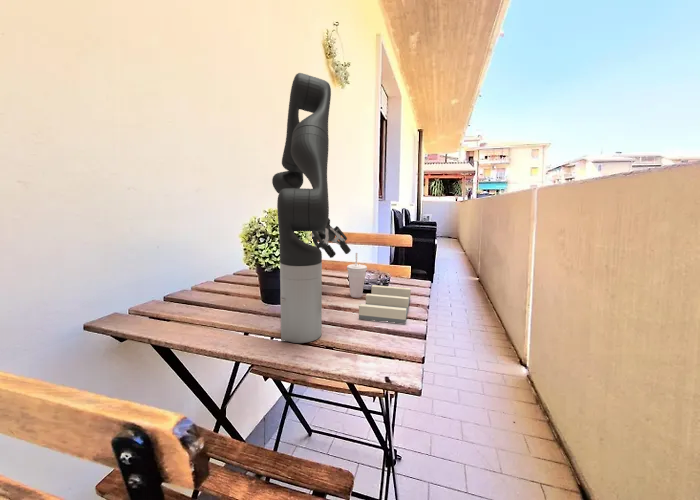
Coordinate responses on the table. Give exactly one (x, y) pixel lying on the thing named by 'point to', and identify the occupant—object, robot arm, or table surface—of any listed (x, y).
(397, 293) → the rack
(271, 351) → the table surface
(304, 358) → the table surface
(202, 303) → the table surface
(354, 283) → the smoothie
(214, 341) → the table surface
